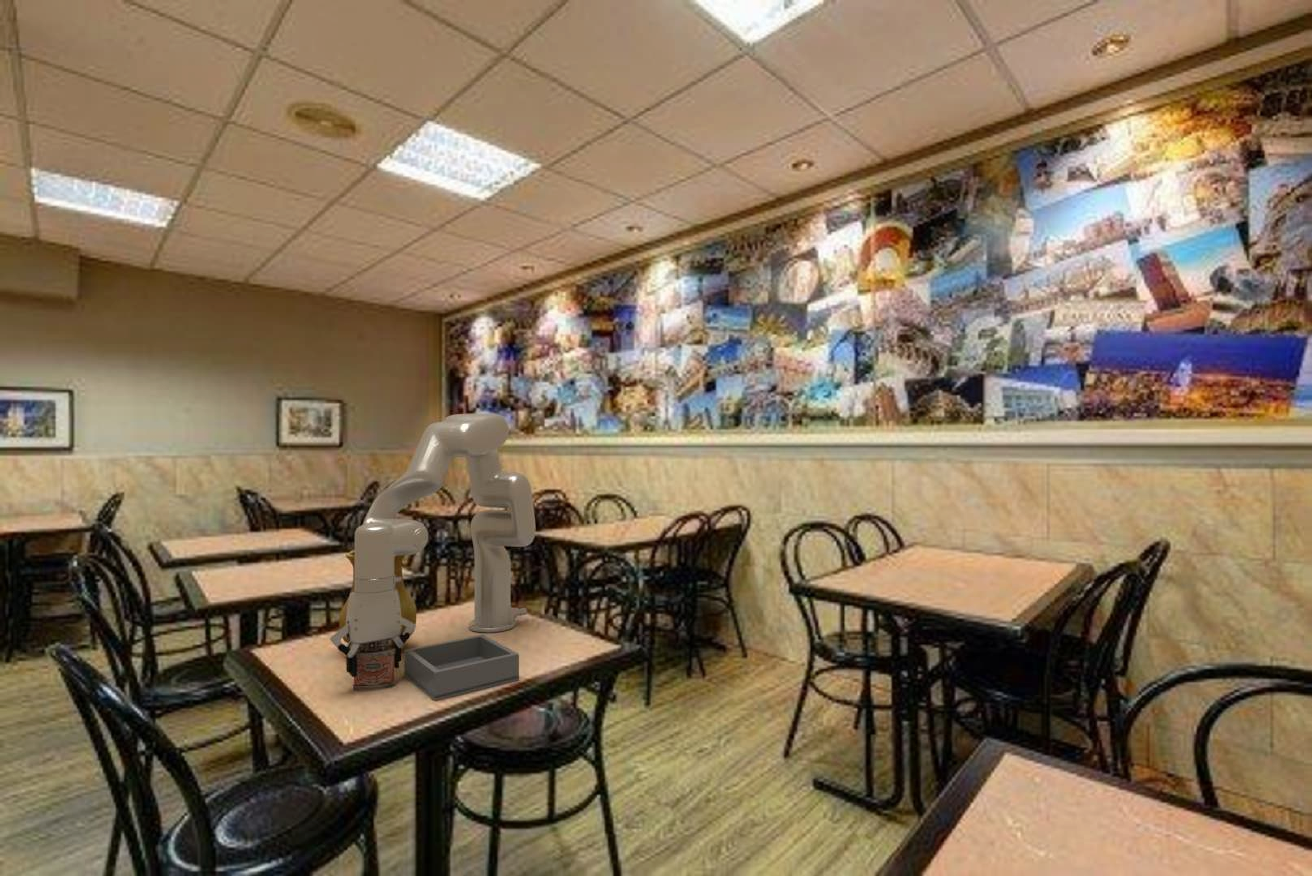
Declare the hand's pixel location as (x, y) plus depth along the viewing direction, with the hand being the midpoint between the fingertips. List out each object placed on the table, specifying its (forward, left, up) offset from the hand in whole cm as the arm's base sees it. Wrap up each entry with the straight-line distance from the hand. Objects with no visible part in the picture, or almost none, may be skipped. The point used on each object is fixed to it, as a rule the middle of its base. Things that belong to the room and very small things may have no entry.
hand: (374, 670), depth 135 cm
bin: (-16, +6, -4) cm, 17 cm away
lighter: (0, 0, -4) cm, 4 cm away
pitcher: (-7, -23, -4) cm, 24 cm away
